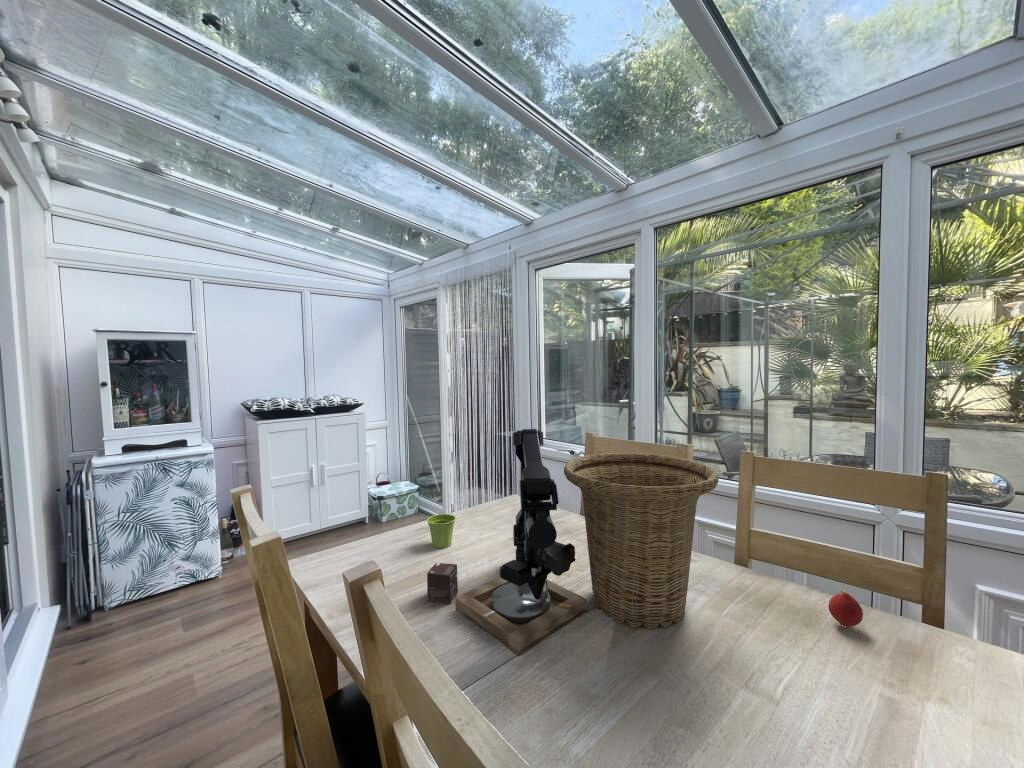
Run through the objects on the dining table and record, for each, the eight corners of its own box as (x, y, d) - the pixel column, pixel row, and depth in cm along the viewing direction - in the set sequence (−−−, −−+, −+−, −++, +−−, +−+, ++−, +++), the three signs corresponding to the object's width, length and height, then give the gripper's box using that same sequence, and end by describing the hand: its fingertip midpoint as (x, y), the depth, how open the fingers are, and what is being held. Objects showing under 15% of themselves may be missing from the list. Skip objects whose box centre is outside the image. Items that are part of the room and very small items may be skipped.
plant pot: (424, 542, 139) (423, 516, 138) (451, 537, 143) (451, 511, 142) (431, 553, 130) (430, 525, 130) (460, 547, 134) (459, 520, 134)
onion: (855, 621, 92) (856, 586, 92) (867, 637, 87) (868, 599, 87) (824, 616, 94) (824, 582, 94) (834, 632, 89) (835, 595, 89)
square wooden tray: (522, 577, 114) (522, 566, 114) (587, 611, 98) (587, 597, 97) (455, 610, 99) (455, 596, 99) (518, 656, 83) (518, 640, 83)
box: (450, 605, 101) (449, 575, 101) (426, 602, 103) (426, 573, 102) (458, 591, 107) (457, 563, 107) (436, 589, 109) (435, 562, 108)
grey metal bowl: (482, 617, 94) (481, 586, 94) (502, 586, 107) (502, 559, 107) (542, 628, 90) (542, 596, 89) (556, 594, 103) (555, 566, 103)
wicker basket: (593, 558, 125) (592, 448, 124) (724, 588, 107) (724, 459, 106) (540, 618, 95) (538, 474, 94) (709, 674, 77) (709, 497, 76)
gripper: (538, 553, 81) (538, 632, 82) (590, 528, 95) (590, 595, 95) (498, 538, 89) (498, 610, 89) (551, 516, 103) (551, 579, 103)
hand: (537, 598), depth 94 cm, fingers closed
